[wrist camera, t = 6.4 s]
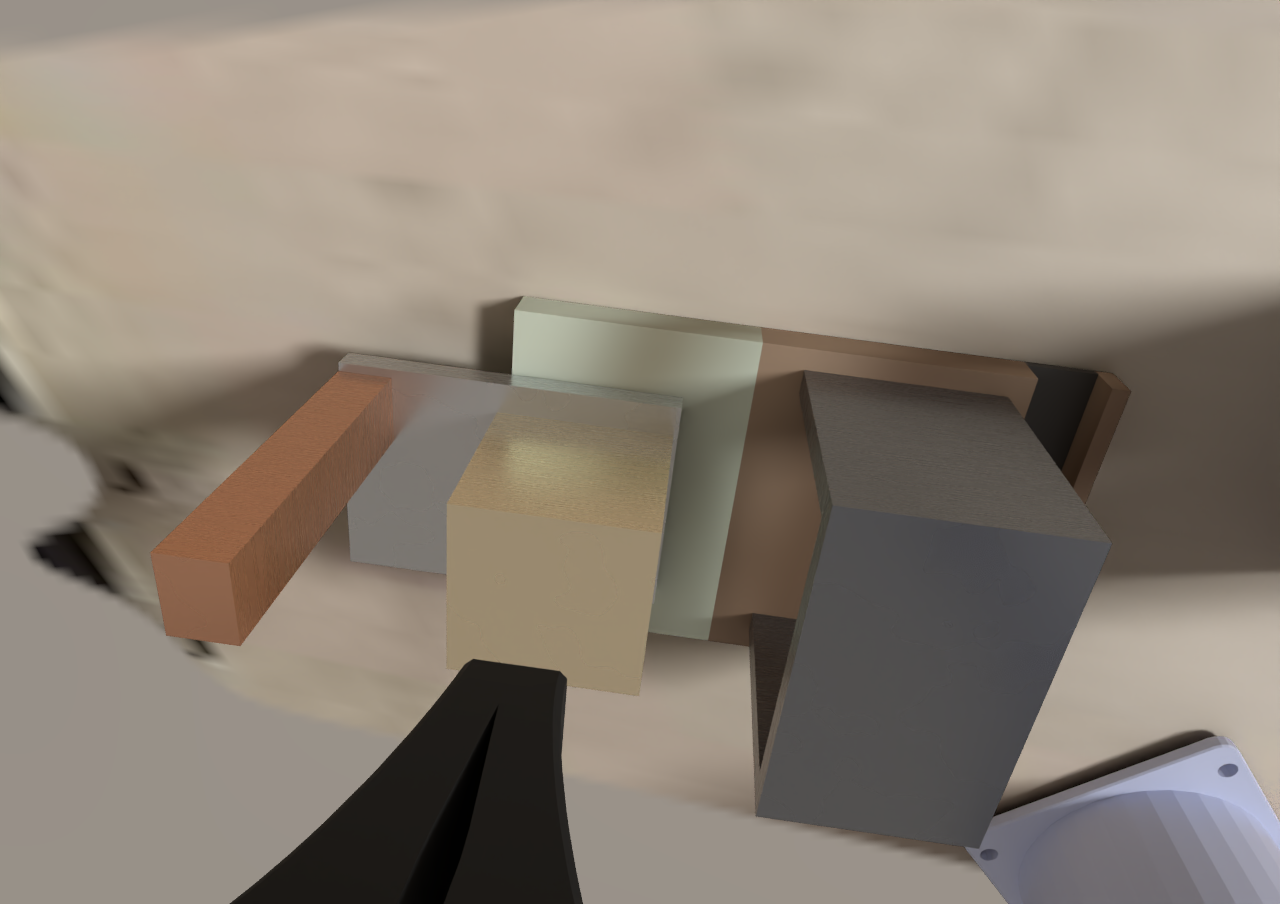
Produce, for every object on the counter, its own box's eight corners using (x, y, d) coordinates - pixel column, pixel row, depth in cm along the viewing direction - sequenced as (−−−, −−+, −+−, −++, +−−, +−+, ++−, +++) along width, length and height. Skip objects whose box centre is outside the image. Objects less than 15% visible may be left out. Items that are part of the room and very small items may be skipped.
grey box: (1008, 396, 19) (1112, 543, 14) (921, 655, 23) (979, 848, 17) (804, 370, 19) (832, 505, 14) (748, 631, 23) (755, 816, 18)
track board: (1112, 373, 20) (1131, 390, 19) (1001, 657, 24) (1011, 683, 23) (523, 296, 20) (514, 310, 19) (510, 589, 24) (502, 611, 23)
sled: (683, 397, 20) (659, 612, 13) (656, 589, 22) (624, 855, 15) (348, 353, 20) (148, 541, 13) (359, 547, 22) (196, 792, 15)
